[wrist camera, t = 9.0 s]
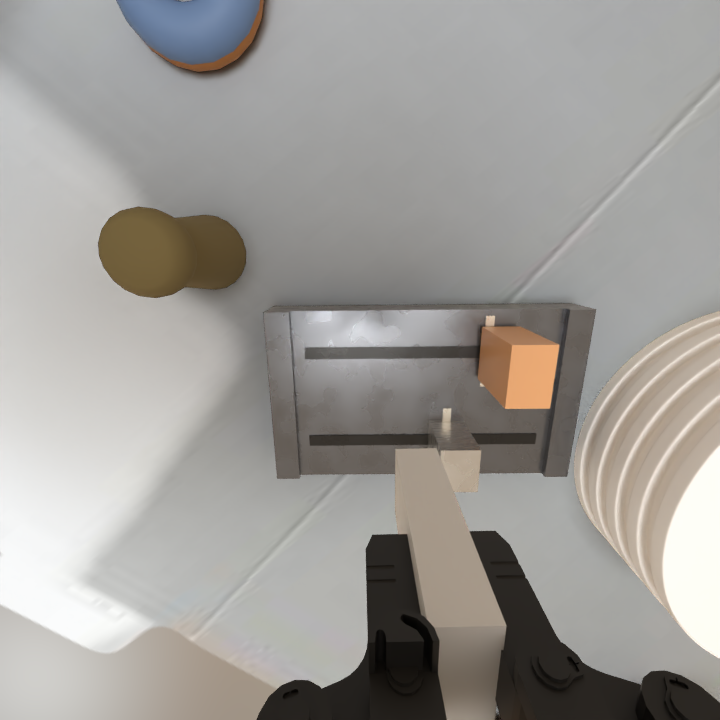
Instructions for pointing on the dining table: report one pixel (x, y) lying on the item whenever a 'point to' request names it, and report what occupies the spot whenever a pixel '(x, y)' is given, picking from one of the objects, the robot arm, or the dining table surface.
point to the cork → (170, 252)
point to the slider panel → (415, 389)
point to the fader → (517, 367)
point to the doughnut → (195, 29)
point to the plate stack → (662, 472)
